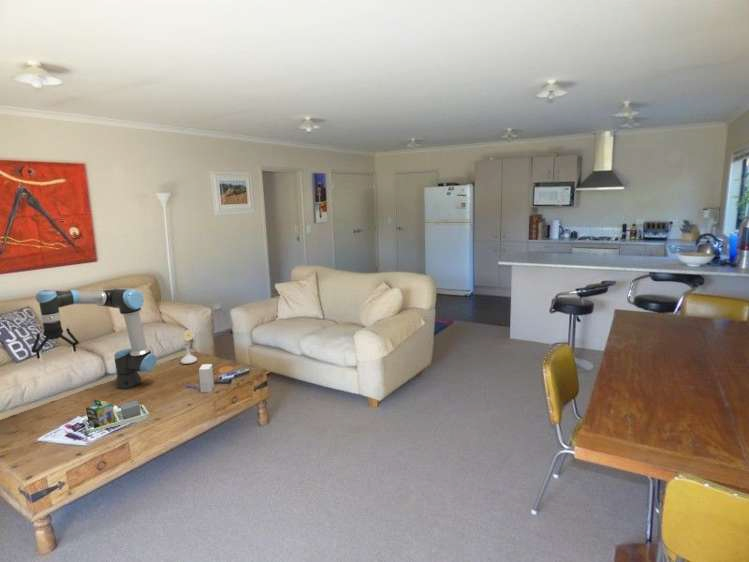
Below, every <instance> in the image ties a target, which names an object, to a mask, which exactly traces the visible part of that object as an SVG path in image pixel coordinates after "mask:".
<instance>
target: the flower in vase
mask: <svg viewBox="0 0 749 562" xmlns="http://www.w3.org/2000/svg"><path fill="white" fill-rule="evenodd" d="M194 337H195V332H194V331H193V330H191V329H188V330H186V331H184V332H183V334H182V340H183V342H185V343H184V344H183V346H184V348H185V351H186V352H185V355H184V356H183V357H182V358H181V359H180V363H181V364H182V365H190V364H193V363H196V362H197V361H198V358H197V356H194V355H193V354H191V351H190V346H191V345H192V344H194V343H196V341H195V340H194Z"/></svg>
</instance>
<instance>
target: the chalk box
mask: <svg viewBox="0 0 749 562" xmlns="http://www.w3.org/2000/svg"><path fill="white" fill-rule="evenodd" d="M93 402H94V403H92V404H90V405H88V406H86V407H85V410H86V415H87V416H86V417H87V419H88V423H89V426H91V427H94V428H97V427H101V426H104V425H108V424H111V423H114V422H116V421H115V416H114V412H115V411H114V407H113V406H114V405H113V402H111V401H106V400H99V399H96V398H95V399H94V398H93Z"/></svg>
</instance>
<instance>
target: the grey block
mask: <svg viewBox="0 0 749 562" xmlns="http://www.w3.org/2000/svg"><path fill="white" fill-rule="evenodd" d="M140 405H141V404H139V402H138V401H137V400H133V401H129V402H125V403H121V404H120V410H121V412H122V417H123V419H124V420H126V419H129V418H133V417H136V416H140V415H141V412H140Z"/></svg>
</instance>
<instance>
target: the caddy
mask: <svg viewBox="0 0 749 562" xmlns="http://www.w3.org/2000/svg"><path fill="white" fill-rule="evenodd" d="M139 405H140V412H141V415H140V416H136V417H133V418H129V419H126V420H122V421H120V420H119V418H118V416H117V415H121V414H122V412H121V409H120V410H117V411H114V416H115V419H116V421H117V422H115V423H111V424H108V425H104V426H101V427H97V428H94V429H90V430H89V428H88V425H87V422H88V418H86V419H84V420H83V424H85V426H84V428H85V427H86V429H85V432H86V431H87V432H86V435H87V434H89V433H92V432H96V431H99V430H103V429H106V428H110V427H114V426H118V425H122V426H124V425H123V424H125V425H128V424H127V423H129V424H133V423H135V422H139V421H143V420H145V419H149V418H150V413H149V411H148V409H147V407H146V406H145V405H144V403H143V404H139ZM118 427H119V426H118Z"/></svg>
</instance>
